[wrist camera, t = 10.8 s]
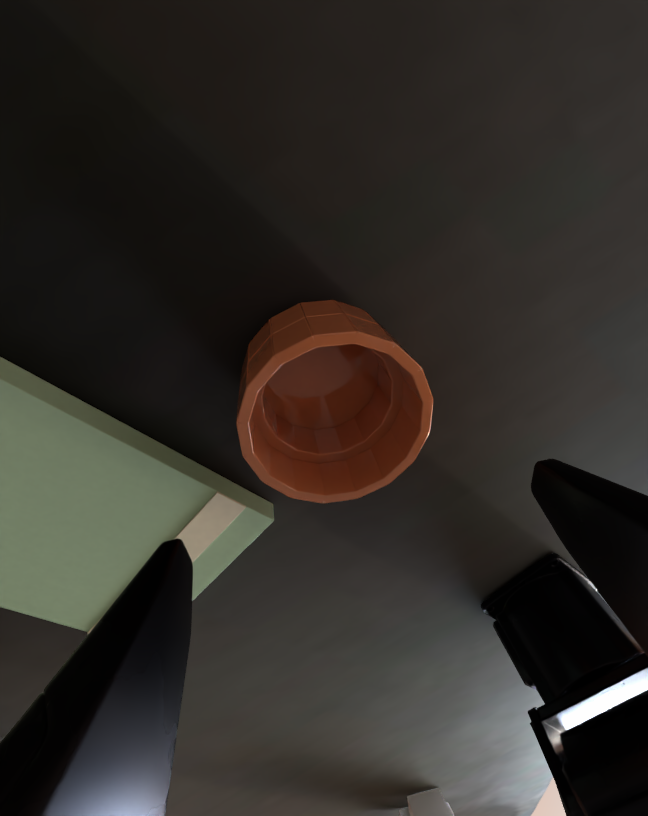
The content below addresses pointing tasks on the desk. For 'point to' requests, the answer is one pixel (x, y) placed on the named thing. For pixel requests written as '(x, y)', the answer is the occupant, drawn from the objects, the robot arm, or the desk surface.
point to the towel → (101, 505)
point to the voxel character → (427, 805)
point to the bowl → (330, 403)
